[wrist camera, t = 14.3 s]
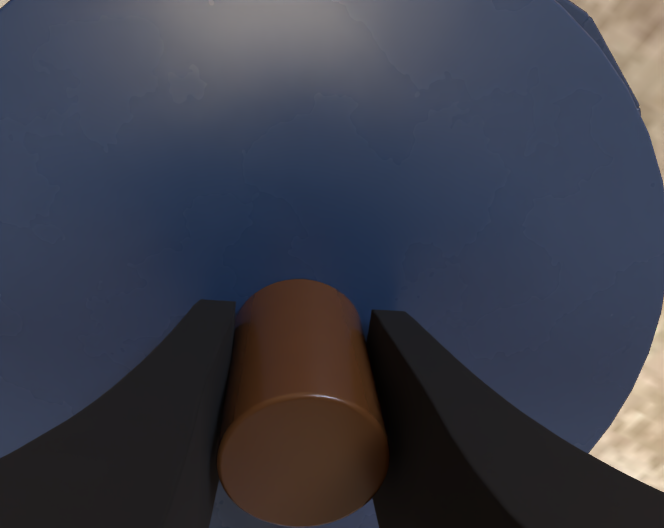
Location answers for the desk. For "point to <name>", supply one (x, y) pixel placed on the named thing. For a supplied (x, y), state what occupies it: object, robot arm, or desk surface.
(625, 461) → the desk surface
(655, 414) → the desk surface
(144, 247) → the pot lid
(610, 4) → the desk surface
